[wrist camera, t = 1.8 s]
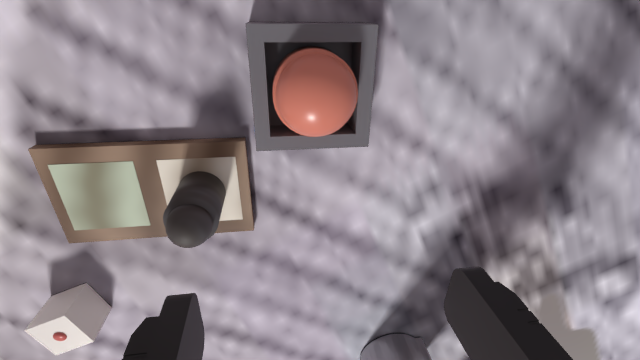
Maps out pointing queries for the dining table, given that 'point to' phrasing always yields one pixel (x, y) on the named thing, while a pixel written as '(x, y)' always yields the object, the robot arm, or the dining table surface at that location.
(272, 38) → the dome collar
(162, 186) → the board
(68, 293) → the die
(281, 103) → the dome
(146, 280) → the dining table surface
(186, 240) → the pawn
